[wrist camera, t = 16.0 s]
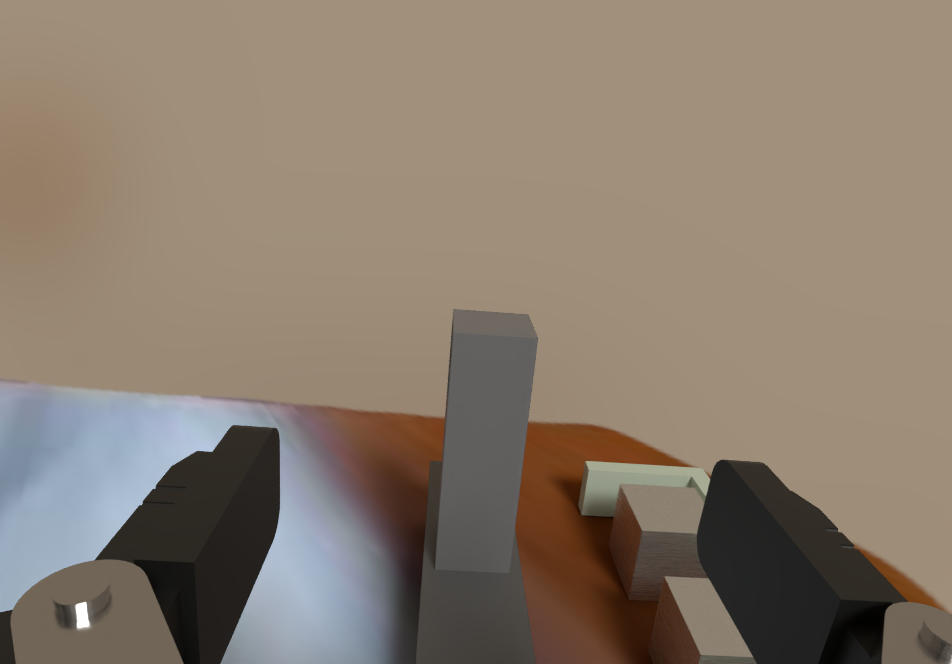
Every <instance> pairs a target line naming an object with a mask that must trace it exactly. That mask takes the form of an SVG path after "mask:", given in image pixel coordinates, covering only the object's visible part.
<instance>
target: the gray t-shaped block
mask: <svg viewBox="0 0 952 664" xmlns="http://www.w3.org/2000/svg"><path fill="white" fill-rule="evenodd" d="M537 343H538V337H537V335H536V332H535V330H534V327H533V325H532V322H531V320H530V318H529V315H527V314H513V313H499V312H485V311H471V310H458V309H454V310H453V321H452V334H451V348H450V360H449V374H448V387H447V400H446V413H445V426H444V439H443V452H442V462H441V461H430V473H429V486H428V500H427V514H426V527H425V541H424V555H423V568H422V582H421V596H420V609H419V623H418V637H417V650H416V664H536V663H535V657H534V650H533V644H532V637H531V631H530V624H529V618H528V611H527V605H526V598H525V592H524V585H523V579H522V572H521V566H520V559H519V553H518V546H517V540H516V533H515V523H516V515H517V507H518V499H519V491H520V482H521V474H522V466H523V458H524V450H525V441H526V433H527V425H528V417H529V408H530V401H531V392H532V384H533V376H534V368H535V360H536V351H537Z"/></svg>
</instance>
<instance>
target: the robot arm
mask: <svg viewBox="0 0 952 664" xmlns="http://www.w3.org/2000/svg"><path fill="white" fill-rule="evenodd" d="M279 511H280V440H279V433H278V430H277V429H276V428H268V427H253V426H239V425H233V426H231V428H230V429H229V430H228V431H227V433H226V434H225V435H224V437H223V438H222V440H221V441H220V442H219V444H218V445H217V446H216V448H215V449H214V451H213V452H204V451H196V452H195V453H193V454H191V455H190V456H188V457H186V458H185V459H183V460H181V461H180V462H178V463H176V464H175V465H173V466H171V468H170V469H169V470H168V471H167V473H166V474H165V475H164V476H163V477H162V479H161V480H160V481H159V482H158V483H157V485H156V489H153V490H152V491H151V492H150V493H149V494H148V496H147V497H146V498H145V499H144V501H143V504H142V505H139V507H138V508H137V509H136V510H135V511H134V513H133V514H132V515H131V516H130V518H129V519H128V520H127V521H126V522H125V524H124V525H123V526H122V527H121V529H120V530H119V531H118V532H117V533H116V535H115V536H114V537H113V538H112V539H111V541H110V542H109V543H108V544H107V546H106V547H105V548H104V549H103V550H102V552H101V553H100V554H99V555H98V557H97V558H96V559H95V560H94V561H89V562H84V563H80V564H76V565H73V566H70V567H67V568H64V569H62V570H60V571H58V572H55V573H53V574H51V575H49V576H48V577H46V578H44V579H42V580H41V581H39V582H38V583H37V584H35V585H34V586H32V587H31V588H30V589H29V590H28V591H27V592H26V593H25V594H24V595H23V596H22V597H21V598H20V599H19V600H18V602H17V603H16V605H15V607H14V609H13V610H10V611H5V612H0V664H220V663H221V661H222V658H223V656H224V654H225V651H226V649H227V647H228V644H229V642H230V640H231V638H232V635H233V633H234V631H235V628H236V626H237V624H238V621H239V619H240V617H241V614H242V612H243V610H244V607H245V605H246V603H247V600H248V598H249V596H250V593H251V591H252V589H253V586H254V584H255V582H256V579H257V577H258V575H259V572H260V570H261V568H262V565H263V563H264V561H265V558H266V556H267V554H268V551H269V549H270V547H271V545H272V542H273V540H274V537H275V533H276V529H277V525H278V519H279ZM697 552H698V557H699V560H700V563H701V565H702V567H703V569H704V571H705V573H706V575H707V576H708V578H709V580H710V582H711V583H712V585H713V587H714V589H715V590H716V592H717V594H718V596H719V598H720V599H721V601H722V603H723V605H724V606H725V608H726V610H727V612H728V613H729V615H730V617H731V619H732V621H733V622H734V624H735V626H736V628H737V629H738V631H739V633H740V635H741V636H742V638H743V640H744V642H745V643H746V645H747V647H748V649H749V651H750V652H751V654H752V656H753V658H754V659H755V661H756V663H757V664H952V614H950V613H947V612H945V611H943V610H940V609H937V608H934V607H931V606H928V605H924V604H919V603H912V602H908V601H907V600H906V599H905V598H904V597H903V596H902V595H901V594H900V593H899V592H898V591H897V590H896V589H895V588H894V587H893V586H892V585H891V583H890V582H889V581H888V580H887V579H886V578H885V577H884V576H883V575H882V574H881V573H880V572H879V571H878V570H877V569H876V568H875V567H874V566H873V565H872V564H871V563H870V562H869V560H868V559H867V558H866V557H865V556H864V555H863V554H862V553H861V552H860V551H859V550H857V549H854V545H853V544H852V543H851V542H850V541H849V540H848V539H847V537H846V536H845V535H844V534H842V533H840V532H838V528H837V527H836V526H835V525H834V524H833V523H832V522H831V521H830V520H829V519H828V518H827V517H826V515H825V514H824V513H822V511H821V510H820V509H819V508H817V507H815V506H814V505H812V504H811V503H809V502H808V501H806V500H805V499H803V498H802V497H800V496H799V495H797V494H796V493H794V492H792V491H790V490H789V489H788V488H787V487H786V486H785V485H784V484H783V483H782V482H781V480H780V479H779V478H778V477H777V476H776V475H775V474H774V473H773V472H772V471H771V470H770V469H769V467H768V466H766V465H765V464H764V463H761V462H749V461H734V460H720V461H719V462H717V463H716V465H715V466H714V469H713V471H712V475H711V479H710V483H709V487H708V491H707V495H706V499H705V502H704V506H703V510H702V514H701V518H700V522H699V526H698V531H697Z"/></svg>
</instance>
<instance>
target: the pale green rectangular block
mask: <svg viewBox="0 0 952 664" xmlns="http://www.w3.org/2000/svg"><path fill="white" fill-rule="evenodd" d="M709 483H710V478H709V477H708V476H707V474H706V473H705V472H704V470H703V469H702V468H689V467H673V466H657V465H641V464H625V463H609V462H593V461H585V466H584V472H583V479H582V485H581V491H580V497H579V504H578V506H579V509H580V512H581V515H587V516H605V517H614V513H615V508H616V502H617V497H618V491H619V486H620V484H637V485H654V486H671V487H689V488H695V489H696V491H697V492H698V494H699V495H700V497H701V498H702V500H703V501H704V502H705V499H706V495H707V491H708V487H709Z"/></svg>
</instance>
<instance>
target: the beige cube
mask: <svg viewBox="0 0 952 664" xmlns="http://www.w3.org/2000/svg"><path fill="white" fill-rule="evenodd" d="M648 653H649V655H650V658H651V661H652V664H757V663H756V661H755V659H754V658H753V656H752V654H751V652H750V651H749V649H748V647H747V645H746V643H745V642H744V640H743V638H742V636H741V635H740V633H739V631H738V629H737V628H736V626H735V624H734V622H733V621H732V619H731V617H730V615H729V613H728V612H727V610H726V608H725V606H724V605H723V603H722V601H721V599H720V598H719V596H718V594H717V592H716V590H715V589H714V587H713V585H712V583H711V582H710V580H709V579H707V578H689V577H670V576H664V580H663V584H662V589H661V593H660V598H659V603H658V607H657V612H656V616H655V621H654V625H653V630H652V635H651V639H650V644H649V648H648Z"/></svg>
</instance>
